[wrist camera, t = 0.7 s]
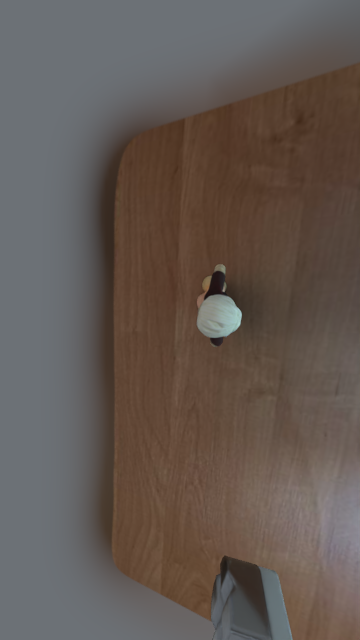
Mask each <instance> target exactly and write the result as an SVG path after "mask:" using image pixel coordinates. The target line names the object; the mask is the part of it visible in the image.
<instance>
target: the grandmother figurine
mask: <svg viewBox="0 0 360 640" xmlns="http://www.w3.org/2000/svg"><path fill="white" fill-rule="evenodd" d="M225 271H226V268H225V266H224V265H222V264H219V265H217V266H216V267H215V271H214V273H213V275H212V276H208V277H206V278H205V279H204V281H203V284H202V287H203V290H204V291H205V293H203V294H201V295H200V296H199V297H198V299H197V306H198V308H199V309H198V318H197V327H198V329H199V330H200V331H201V332H202V333H203V334H204V335H205V336H208V337H210V343H211V345H212V346H214V347H217V346H220V345H221V344H222V342H223V336H225V337H226V336H228V335H229V334H230V333H231V332H234V331H235V330H236V329H237V328H238V327H239V326H240V322H241V317H242V313H241V311H240V310H239V308H237V307H236V305H235V303H234V301H233V300H232V299H231V298H230V297H228V295H227V294H226V293H225V290H226V283H225Z"/></svg>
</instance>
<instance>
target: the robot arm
mask: <svg viewBox="0 0 360 640" xmlns="http://www.w3.org/2000/svg"><path fill="white" fill-rule="evenodd" d="M220 571H221V573H220V574H218V575H217V576H216V579H215V582H214V586H213V592H212V601H211V621H212V623H213V625H214V628H215V633H214V636H213V639H212V640H292V635H291V631H290V626H289V622H288V617H287V613H286V609H285V604H284V600H283V595H282V591H281V586H280V582H279V577H278V575H277V573H276V572H275V571H273V570H270V569H267V568H263V567H260V566H257V565H255V564H252V563H249V562H245V561H242V560H238V559H235V558H231V557H228V556H224V557H223V558H222V561H221V564H220Z"/></svg>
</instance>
